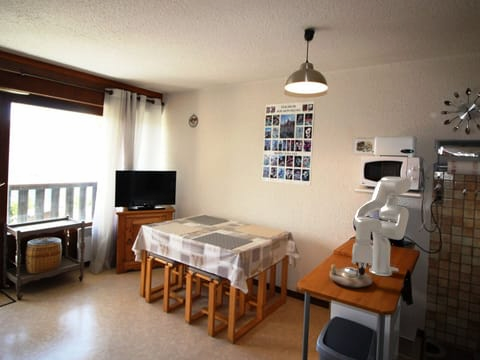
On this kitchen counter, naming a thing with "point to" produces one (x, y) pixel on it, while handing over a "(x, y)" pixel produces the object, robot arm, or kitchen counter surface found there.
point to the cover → (350, 272)
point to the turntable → (340, 278)
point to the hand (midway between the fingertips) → (361, 274)
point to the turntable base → (350, 286)
